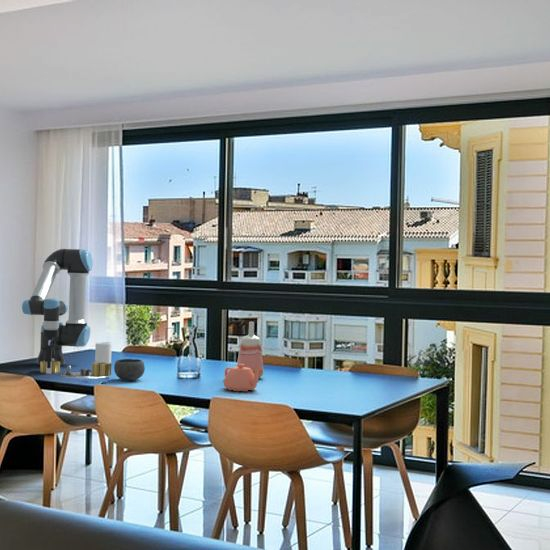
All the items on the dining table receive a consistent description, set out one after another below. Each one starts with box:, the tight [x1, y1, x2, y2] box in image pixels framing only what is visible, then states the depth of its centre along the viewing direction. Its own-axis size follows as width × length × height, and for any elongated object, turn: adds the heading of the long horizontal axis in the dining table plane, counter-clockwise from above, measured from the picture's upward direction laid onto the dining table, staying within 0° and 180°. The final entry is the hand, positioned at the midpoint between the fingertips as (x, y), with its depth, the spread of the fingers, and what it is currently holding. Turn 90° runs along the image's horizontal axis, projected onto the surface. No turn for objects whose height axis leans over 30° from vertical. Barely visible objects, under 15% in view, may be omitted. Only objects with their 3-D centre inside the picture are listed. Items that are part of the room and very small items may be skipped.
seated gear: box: [90, 361, 112, 378], centre depth 395 cm, size 10×10×6 cm
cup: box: [94, 341, 113, 364], centre depth 411 cm, size 8×8×16 cm
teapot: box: [222, 364, 262, 392], centre depth 372 cm, size 22×16×12 cm
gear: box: [39, 360, 61, 374], centre depth 400 cm, size 10×10×6 cm
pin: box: [65, 365, 72, 375], centre depth 392 cm, size 2×2×4 cm
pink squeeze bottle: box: [236, 321, 264, 378], centre depth 412 cm, size 14×14×30 cm
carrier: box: [59, 367, 110, 383], centre depth 393 cm, size 24×24×6 cm
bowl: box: [113, 358, 146, 382], centre depth 391 cm, size 15×15×10 cm
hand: (50, 372), depth 400 cm, fingers closed on gear, 10 cm apart
